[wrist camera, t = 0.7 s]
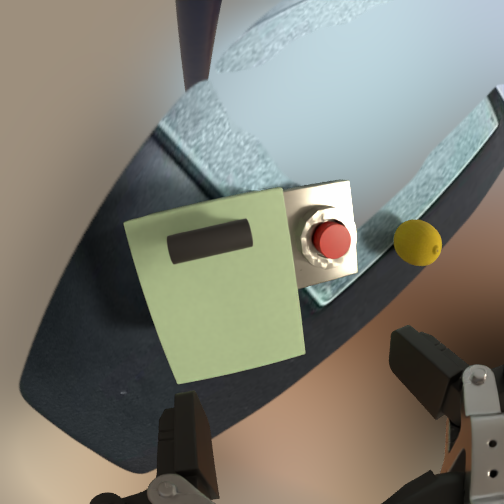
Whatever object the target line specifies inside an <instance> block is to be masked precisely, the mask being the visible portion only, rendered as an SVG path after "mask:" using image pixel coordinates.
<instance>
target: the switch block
mask: <svg viewBox="0 0 504 504" xmlns="http://www.w3.org/2000/svg"><path fill="white" fill-rule="evenodd" d="M282 190H283V196H284V202H285V208H286V214H287V221H288V227H289V233H290V240H291V247H292V254H293V261H294V268H295V275H296V282H297V289H300V288H304V287H308V286H311V285H315V284H319V283H322V282H326V281H330V280H333V279H337V278H341V277H344V276H348V275H351V274H355V273H358V269H357V254H356V242H357V232H356V225H355V223H354V218H353V209H352V200H351V192H350V185H349V180H335V181H329V182H322V183H316V184H310V185H304V186H298V187H293V188H287V189H282ZM328 221H332V222H336V223H338V224H341V225H343V226H345V227H346V228H347V229H348V231H349V233H350V236H351V244H350V247H349V250H348V251H347V252H346V254H345V255H343V256H342V257H340V258H337V259H329V258H327V257H325V256H324V255H322V254H321V253H319V252H318V251H317V250H316V248H315V246H314V243H313V237H314V233H315V231H316V229H317V228H318V227H319V226H320V225H321V224H322V223H325V222H328Z"/></svg>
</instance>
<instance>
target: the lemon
mask: <svg viewBox="0 0 504 504" xmlns="http://www.w3.org/2000/svg"><path fill="white" fill-rule="evenodd" d="M394 247H395V250H396V252H397V254H398V255H399V256H400V257H401V258H402V259H403V260H404V261H406V262H408V263H410V264H412V265H417V266H426V265H429V264H431V263H433V262H434V261H435V260H436V259H437V258H438V256H439V254H440V252H441V247H442V242H441V237H440V235H439V233H438V231H437V230H436V229H435V228H434V227H433V226H431V225H430V224H429V223H426V222H424V221H422V220H408V221H405V222H404V223H402V224H401V225H400V226H399V227H398V228H397V230H396V232H395V234H394Z"/></svg>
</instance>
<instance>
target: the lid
mask: <svg viewBox="0 0 504 504" xmlns="http://www.w3.org/2000/svg"><path fill="white" fill-rule="evenodd" d="M124 228H125V232H126V236H127V239H128V243H129V247H130V250H131V254H132V257H133V261H134V264H135V268H136V271H137V274H138V277H139V281H140V284H141V287H142V290H143V293H144V296H145V299H146V302H147V305H148V308H149V311H150V314H151V317H152V320H153V323H154V325H155V328H156V331H157V334H158V336H159V339H160V342H161V344H162V347H163V349H164V352H165V355H166V357H167V360H168V362H169V365H170V367H171V369H172V372H173V374H174V377H175V379H176V381H177V384H181V383H187V382H192V381H197V380H202V379H207V378H212V377H217V376H222V375H226V374H230V373H235V372H239V371H243V370H247V369H251V368H255V367H259V366H263V365H267V364H271V363H275V362H278V361H282V360H285V359H289V358H292V357H296V356H299V355H303V354H305V346H304V337H303V329H302V321H301V313H300V305H299V297H298V290H297V282H296V275H295V268H294V261H293V254H292V247H291V240H290V233H289V227H288V221H287V214H286V208H285V202H284V196H283V190H282V188H280V187H277V188H272V189H266V190H261V191H256V192H251V193H246V194H241V195H236V196H231V197H226V198H221V199H217V200H212V201H207V202H203V203H198V204H194V205H190V206H185V207H181V208H177V209H172V210H168V211H164V212H160V213H156V214H152V215H148V216H144V217H140V218H136V219H132V220H128V221H126V222H124Z"/></svg>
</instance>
